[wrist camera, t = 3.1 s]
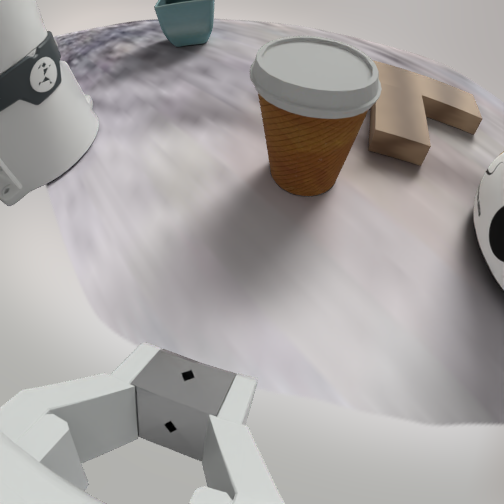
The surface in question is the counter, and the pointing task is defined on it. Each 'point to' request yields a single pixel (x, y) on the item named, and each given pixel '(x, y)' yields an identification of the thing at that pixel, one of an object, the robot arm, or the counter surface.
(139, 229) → the counter surface
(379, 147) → the walnut T block
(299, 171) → the disposable coffee cup
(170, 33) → the flower pot
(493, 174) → the milk container
